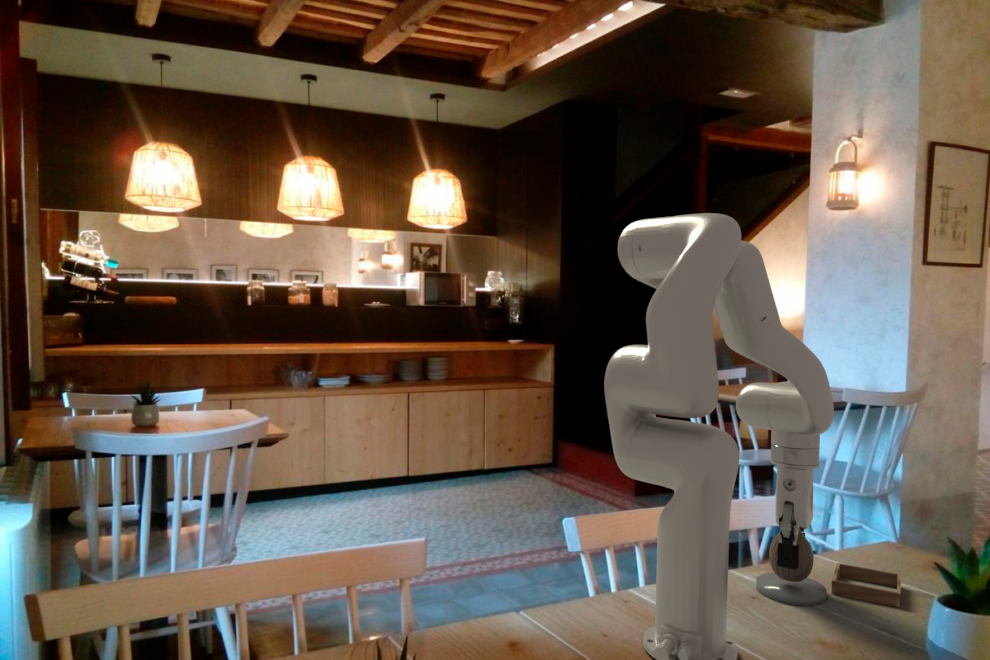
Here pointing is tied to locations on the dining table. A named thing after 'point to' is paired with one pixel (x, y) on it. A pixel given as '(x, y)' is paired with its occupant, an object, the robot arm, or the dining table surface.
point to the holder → (864, 591)
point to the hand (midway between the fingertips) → (791, 559)
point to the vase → (804, 560)
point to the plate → (791, 590)
